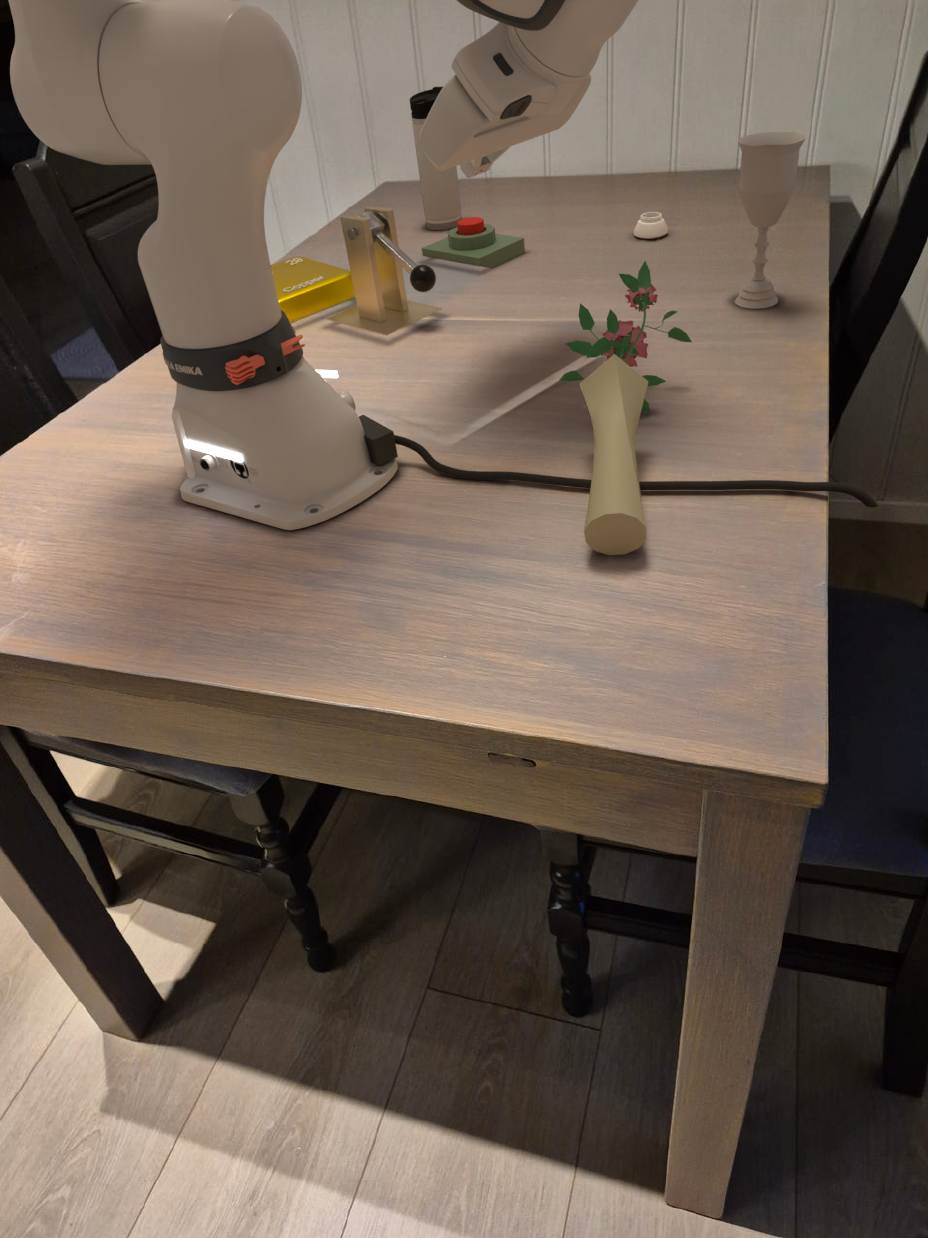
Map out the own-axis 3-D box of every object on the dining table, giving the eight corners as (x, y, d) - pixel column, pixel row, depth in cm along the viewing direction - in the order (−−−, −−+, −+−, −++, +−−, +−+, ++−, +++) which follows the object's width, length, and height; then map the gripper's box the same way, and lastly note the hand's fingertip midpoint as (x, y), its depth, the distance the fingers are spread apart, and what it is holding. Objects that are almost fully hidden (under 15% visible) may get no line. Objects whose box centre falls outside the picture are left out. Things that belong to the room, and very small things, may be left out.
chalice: (797, 296, 109) (817, 132, 98) (770, 315, 105) (787, 147, 94) (743, 287, 113) (756, 130, 102) (715, 305, 110) (725, 144, 98)
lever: (437, 292, 111) (444, 271, 108) (419, 301, 109) (425, 280, 106) (368, 227, 113) (373, 206, 110) (350, 235, 111) (354, 213, 109)
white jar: (649, 242, 131) (674, 233, 133) (650, 221, 129) (675, 213, 131) (626, 236, 135) (651, 228, 136) (626, 216, 133) (651, 207, 135)
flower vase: (578, 613, 78) (584, 367, 99) (719, 584, 73) (693, 332, 94) (527, 526, 70) (545, 278, 91) (682, 487, 65) (662, 234, 86)
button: (490, 230, 133) (489, 218, 132) (472, 238, 131) (470, 226, 130) (470, 227, 135) (469, 215, 134) (452, 235, 133) (451, 223, 132)
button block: (525, 252, 134) (523, 224, 132) (480, 273, 129) (477, 245, 127) (467, 243, 141) (465, 216, 139) (423, 262, 136) (419, 235, 134)
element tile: (273, 337, 118) (264, 301, 115) (219, 315, 128) (209, 281, 125) (363, 302, 125) (356, 267, 122) (305, 283, 135) (298, 250, 132)
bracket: (443, 316, 117) (428, 205, 109) (388, 343, 112) (368, 229, 103) (382, 302, 124) (364, 197, 116) (328, 327, 119) (305, 218, 110)
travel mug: (470, 219, 151) (456, 85, 139) (449, 231, 147) (433, 94, 135) (440, 218, 154) (424, 86, 142) (419, 229, 150) (400, 95, 138)
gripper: (586, 16, 88) (518, 123, 100) (443, 54, 77) (386, 168, 89) (623, 69, 88) (551, 169, 100) (486, 113, 78) (424, 220, 89)
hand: (472, 169), depth 95 cm, fingers closed
